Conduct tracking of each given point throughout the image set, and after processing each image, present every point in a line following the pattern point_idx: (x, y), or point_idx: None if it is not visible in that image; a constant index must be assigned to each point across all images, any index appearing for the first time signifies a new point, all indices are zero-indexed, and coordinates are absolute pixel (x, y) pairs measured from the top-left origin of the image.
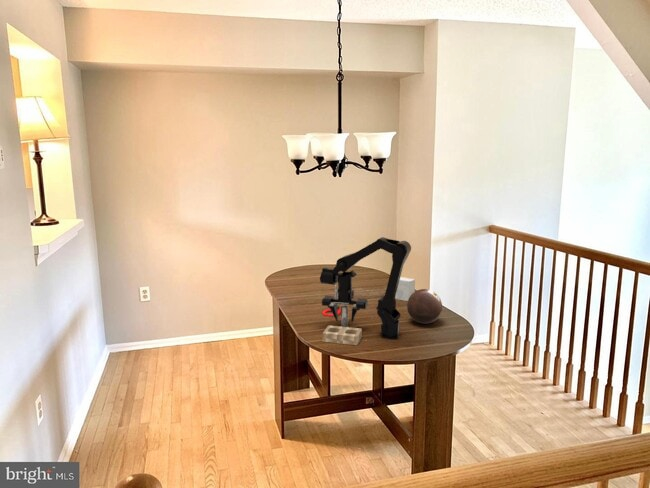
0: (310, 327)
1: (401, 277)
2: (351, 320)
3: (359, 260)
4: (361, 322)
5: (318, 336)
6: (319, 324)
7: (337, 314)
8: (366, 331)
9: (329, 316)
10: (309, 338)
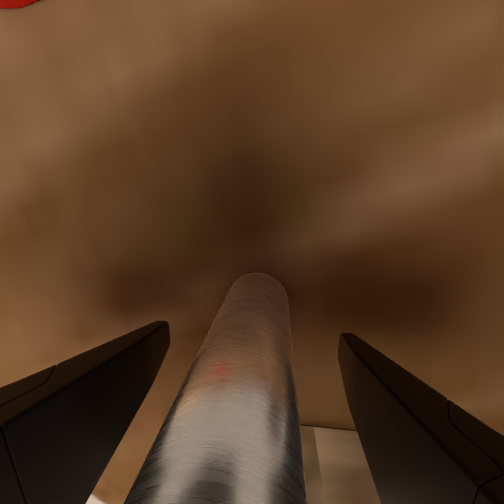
0: (15, 332)
1: None
2: (345, 389)
3: None
4: (407, 93)
5: (132, 457)
6: (40, 261)
7: (121, 361)
8: (464, 333)
9: (15, 7)
10: (98, 484)
